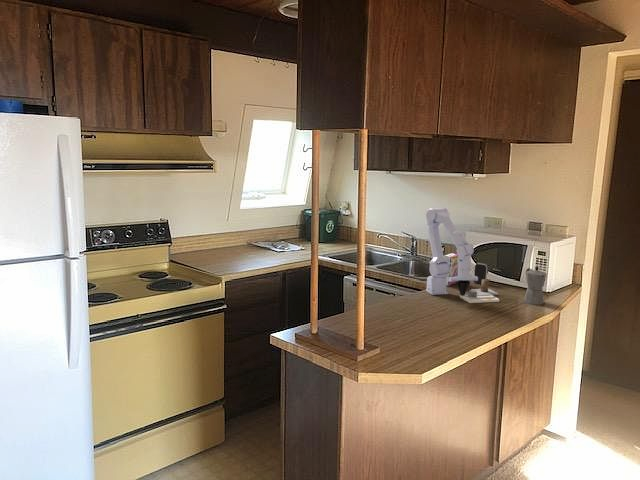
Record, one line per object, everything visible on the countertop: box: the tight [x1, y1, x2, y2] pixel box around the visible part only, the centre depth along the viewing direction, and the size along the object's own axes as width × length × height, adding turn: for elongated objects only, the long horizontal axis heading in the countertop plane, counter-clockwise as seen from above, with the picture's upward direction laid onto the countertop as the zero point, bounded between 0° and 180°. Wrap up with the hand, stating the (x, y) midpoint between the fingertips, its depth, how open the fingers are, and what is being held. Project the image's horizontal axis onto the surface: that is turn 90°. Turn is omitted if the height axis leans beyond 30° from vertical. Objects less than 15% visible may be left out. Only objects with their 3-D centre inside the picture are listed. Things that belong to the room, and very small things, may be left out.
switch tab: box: [467, 289, 477, 298], centre depth 259 cm, size 3×3×3 cm
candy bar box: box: [443, 253, 459, 287], centre depth 288 cm, size 11×5×16 cm, turn 141°
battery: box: [473, 262, 489, 285], centre depth 291 cm, size 7×4×11 cm, turn 45°
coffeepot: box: [523, 266, 547, 306], centre depth 257 cm, size 15×9×18 cm, turn 8°
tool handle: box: [480, 278, 490, 292], centre depth 272 cm, size 4×4×6 cm
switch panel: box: [459, 294, 500, 304], centre depth 260 cm, size 16×10×2 cm, turn 102°
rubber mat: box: [470, 288, 499, 296], centre depth 273 cm, size 10×10×1 cm
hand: (462, 295), depth 258 cm, fingers closed
